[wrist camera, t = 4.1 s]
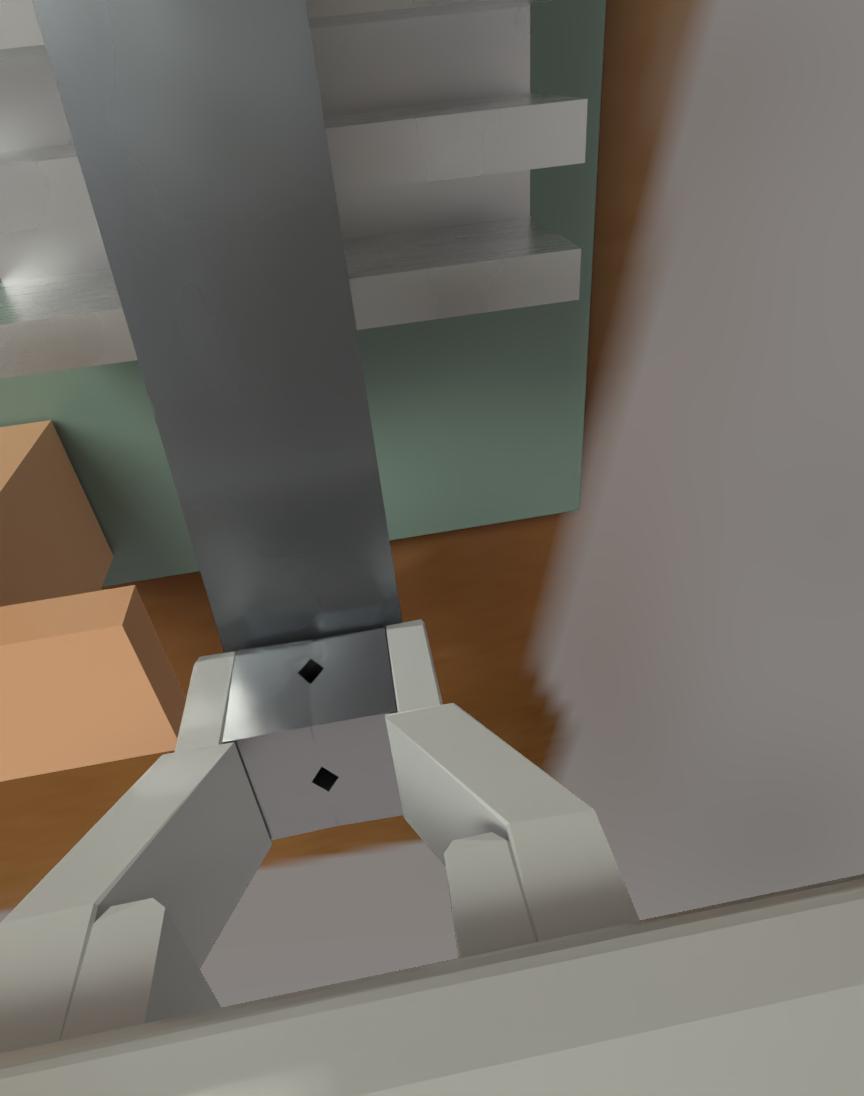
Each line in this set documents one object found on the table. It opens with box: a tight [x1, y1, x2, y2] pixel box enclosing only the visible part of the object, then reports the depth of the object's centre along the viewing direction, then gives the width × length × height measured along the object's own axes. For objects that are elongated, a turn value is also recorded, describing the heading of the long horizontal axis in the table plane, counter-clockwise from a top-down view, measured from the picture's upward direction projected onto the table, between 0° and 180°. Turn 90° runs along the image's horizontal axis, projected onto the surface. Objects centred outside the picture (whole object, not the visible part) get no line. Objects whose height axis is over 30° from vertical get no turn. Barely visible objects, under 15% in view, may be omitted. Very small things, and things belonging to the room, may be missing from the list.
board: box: [0, 0, 606, 587], centre depth 12 cm, size 24×16×1 cm, turn 5°
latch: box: [0, 420, 186, 781], centre depth 14 cm, size 4×6×7 cm, turn 95°
